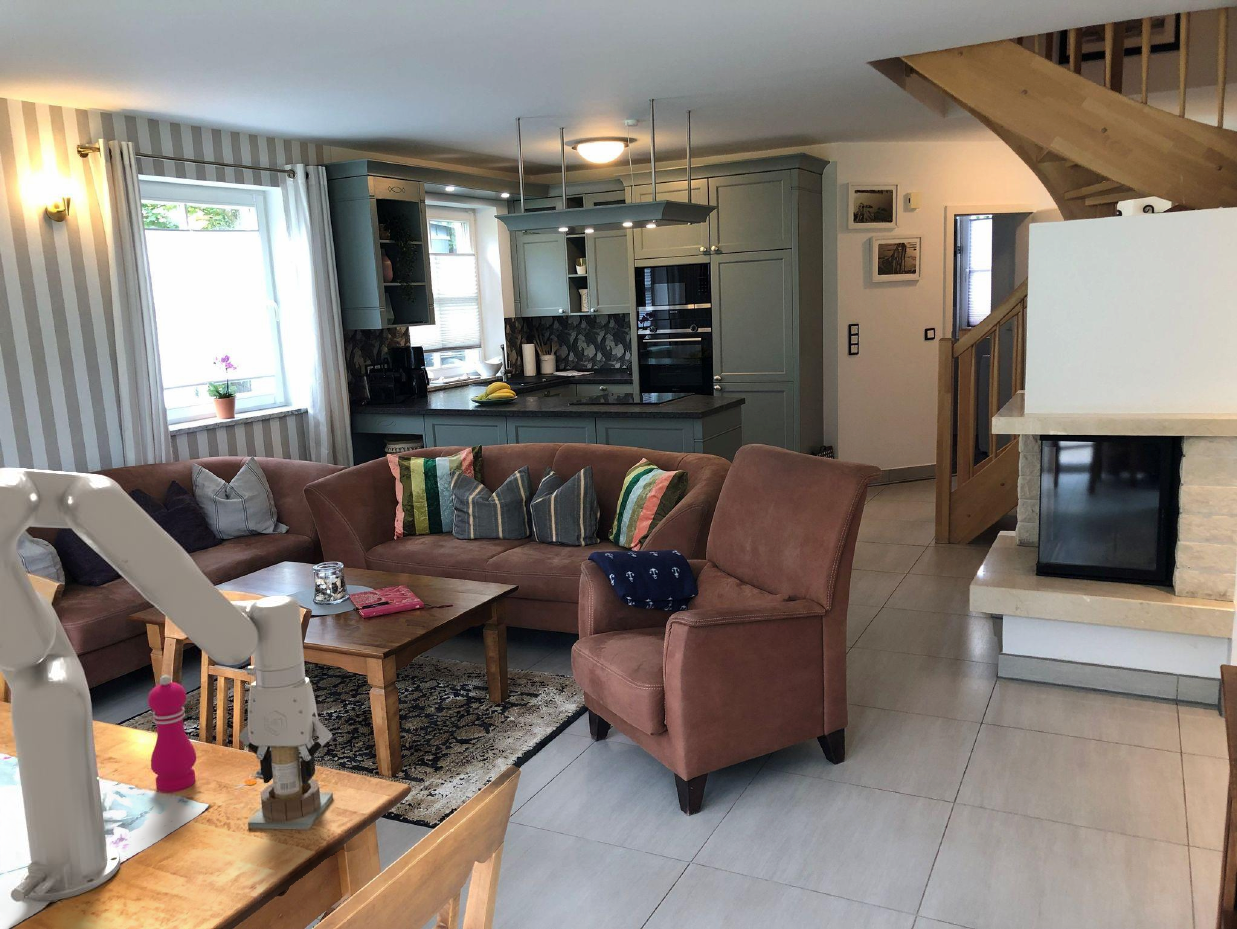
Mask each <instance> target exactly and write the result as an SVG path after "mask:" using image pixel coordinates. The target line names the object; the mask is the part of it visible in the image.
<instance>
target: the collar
mask: <svg viewBox="0 0 1237 929" xmlns="http://www.w3.org/2000/svg"><path fill="white" fill-rule="evenodd" d="M333 799H334V793H333V792H327V791H326V792H323V791H321V792H320V785H319V782H318V781H317V779H314V778H313V777H312V778H311V779H310V780H309V781H308V783H307V784H303V783H302V796H300V797H298V798H293V799H289V800H276V799H275V792H274V785H273V782H272V783H270V784H268V785H267V786H266V787H264V789H263V790H262V791H261V792H260V801H261V802H260V803H261V804H260V805H261V807H260V808H259V809H258V811H257V812H256V813H255V814H254V815H253V816H252V817H251V819H249V821H248V822H247V827H248V829H256V830H257V829H260V830H261V829H262V830H264V829H266V830H269V829H270V830H311V828H312V826H313V825H314V823H315V822H316V821H317V820H318V819H319V817H320V816H321V815H322V814H323V812H324V811H325V810H326V808H327V807H328V805H329V804H330V803H331V802H330V801H332V800H333ZM310 827H311V828H310Z"/></svg>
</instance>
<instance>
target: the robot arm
mask: <svg viewBox="0 0 1237 929" xmlns="http://www.w3.org/2000/svg"><path fill="white" fill-rule="evenodd" d="M30 527H32V528H33V527H35V528H53V529H54V528H57V529H58V528H59V529H71V530H72V531H73V532H74V533H75V534H76V535H77V536H78V537H79V538H80V539H81V540H82V541H83V542H84V543H86V544H87V546H88V547H90V548H91V549H92V550H93V551H94V552H96V553H97V554H98V555H99V556H100V557H101V558H102V559H103V560H105V561H106V562H107V563H108V564H109V565H110V566H111V567H112V568H113V569H114V570H115V571H116V572H118V574H119V575H120V576H122V578H124V580H126V581H127V582H128V583H129V584H130V585H131V586H132V587H133V588H134V589H135V590H136V591H138V593H140V594H141V596H142V597H143V598H144V599H145V600H147V602H148V603H150V604H151V605H153V607H155V608H156V609H158V610H159V611H160V612H161V613H162V614H163V615H164V616H165V617H166V618H167V619H168V620H169V621H170V622H171V623H172V624H173V625H175V626H176V628H178V629H179V631H181V632H182V633H183V634H184V635H185V636H186V637H187V638H188V639H189V640H190V641H191V642H192V643H193V644H195V645H196V646H197V647H198V648H199V649H200V650H201V651H202V652H204V653H205V654H206V655H207V656H208V657H209V658H210V659H211V660H213V661H214V662H215V663H218V664H220V665H225V666H232V665H233V666H235V665H239V664H242V663H243V662H246V661H248V659H249V658H251V656H253V665H252V666H248V667H247V669H246V674H247V675H248V676H252V677H253V679H254V680H253V681H254V682H252V683H251V684H250V688H249V695H248V706H247V707H248V708H247V724H246V726H245V728H244V729H242V731H241V732H240V734H239V735H238V739H239V740H240V741H241V742H242V743H243V744H244V745H246V746H247V747H248V749H249V750H250V751H251V752H252V753H253V754H254V755H255V758H256V759H257V760H259V765H260V769H261V775H262V776H263V778H262V779H263V783H264V784H269V783H270V782H271V781H272V780H273V772H272V756H271V747H270V746H273V747H298V748H299V753H300V754H301V756H302V759H300V768H301V780H302V783H303V784H307V783H308V781H309V780H310V779H311V778H312V779H313V777H314V775H315V774H316V764H315V754H316V753H317V752H319V750H321V749H322V747H323V746H324V745H326V744H327V742H329V741H330V739H331V738H332V736H333V734H332V732H331V731H330V730H329V729H328V728H327V727H326V726H325V725H324V724H323V723H322V722H321V721H320V720H319V716H318V708H317V704H316V698H315V695H314V690H313V686H312V684H311V681H310V678H309V677H307V676H306V670H305V669H306V668H305V657H304V655H305V654H304V646H303V635H302V634H303V633H302V619H301V608H300V603H299V602H298V600H297V599H296V598H294V597H293V596H288V595H272V596H267V597H262V598H260V599H257V600H238V601H236V600H234V601H231V600H230V599H228V598H227V597H226V596H225V595H224V594H223V593H222V592H221V591H220V590H219V589H218V588H217V586H215V585H214V584H213V583H212V581H210V580H209V578H208V577H207V576H206V575H205V574H204V573H203V572H202V571H201V569H200V568H199V566H198V565H197V563H196V562H195V561H194V560H193V558H192V557H191V556H190V555H189V553H188V552H187V551H186V550H185V548H183V546H181V545H180V544H179V542H177V541H176V540H175V539H174V538H173V536H171V535H170V534H169V533H168V532H167V531H166V530H164V529H163V528H162V527H161V525H159V523H157V522H156V521H155V520H154V518H152V517H151V515H149V513H148V512H146V511H145V510H144V509H143V508H142V507H141V506H140V505H139V504H138V503H137V502H136V500H133V498H132V497H131V496H130V495H128V493H127V492H126V490H125V491H124V490H123V488H122V487H121V485H120V484H119V482H117V481H115V480H114V479H112V478H111V477H109V476H105V475H103V474H95V473H93V474H92V473H81V472H67V471H53V470H43V469H42V470H41V469H30V468H29V469H28V468H17V467H0V672H1V674H2V676H3V678H4V680H5V681H6V683H7V685H8V687H9V690H10V717H11V718H10V719H11V725H12V726H11V727H12V733H13V739H14V743H15V744H14V745H15V749H16V756H17V758H16V759H17V764H18V772H19V773H18V774H19V779H20V786H21V792H22V800H23V808H24V817H25V825H26V830H27V842H28V849H29V855H30V861H31V862H30V863H29V864H28V865H27V872H26V873H25V874H24V875H23V877H22V878H21V882H20V884H19V885H17V886H16V887H15V888H14V889H13V890H11V892H10V897H11V899H12V901H15V902H16V903H18V902H22V901H24V900H25V899H26V898H29V899H31V900H35V901H55V900H56V901H59V900H63V899H67V898H72V897H74V896H78V895H81V894H83V893H86V892H89V891H91V890H93V889H95V888H97V887H99V886H100V885H103V884H104V883H105V882H106V881H108V880H110V879H111V878H112V877H113V876H114V875H115V874H116V873H117V871H118V870H119V868H120V866H121V856H120V853H119V852H118V850H116V849H115V848H113V847H109V846H107V837H106V830H105V829H106V828H105V821H104V812H103V811H104V810H103V805H102V804H103V803H102V796H101V795H102V794H101V786H100V779H99V778H100V776H99V769H98V768H99V767H98V763H97V754H96V746H95V745H96V744H95V734H94V723H93V721H94V719H93V708H92V701H91V699H92V698H91V694H90V690H89V685H88V682H87V678H86V675H85V674H86V673H85V670H84V668H83V666H82V663H81V662H80V659H79V658H78V655H77V653H76V651H75V649H74V648H73V645H72V643H71V641H70V639H69V637H68V634H67V633H66V631H65V629H64V627H63V625H62V623H61V621H60V619H59V617H58V614H57V613H56V610H55V609H54V607H53V605H52V603H51V602H50V600H48V599H47V598H46V597H45V596H44V595H43V594H41V593H39V591H38V592H37V591H36V590H35V588H34V586H33V584H32V582H31V580H30V578H29V575H28V573H27V570H26V568H25V566H24V564H23V562H22V561H21V559H20V556H19V554H18V548H17V545H18V542H19V538H20V537H21V535H22V534H24V532H25V531H26V530H28V528H30ZM315 735H317V736H318V739H317V740H316V741H315V742H314V740H313V738H312V737H313V736H315Z"/></svg>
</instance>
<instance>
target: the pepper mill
mask: <svg viewBox="0 0 1237 929" xmlns="http://www.w3.org/2000/svg"><path fill="white" fill-rule="evenodd" d="M147 697H148V698H147V703H148V707H149V708H150V710H152V711H153V713H152V717H153V720H152V721H153V723H155V724H156V729H157V732H156V733H157V737H156V743H155V745H154V748H153V750H152V754H151V757H150V758H151V759H150V768H151V770H152V773H154V774H156V775H157V776H156V777H155V788H156V790H157V791H159V792H162V793H176V792H180V791H182V790H185V789H188V788H190V787H191V786H192V785H194V783H195V781H196V771H195V769H194V768H193V767H194V766H195V764H196V762H197V753H196V750H195V747H194V745H193V743H192V742H191V740H190V739H189V737H188V735H187V734H186V731H185V728H184V727H185V726H184V718H185V717H186V713H185V710H186V709H185V707H184V705H185V703H186V702H187V692H186V690H185V688H184V686H182V685H181V684H179V683H178V682H173V681H172V677H171V676H170V675H168V674H164V675H162V676H161V677H160V678H159V684H158V685H156V686H154V688H152V689H151V690H150V692H149V694H148V696H147Z"/></svg>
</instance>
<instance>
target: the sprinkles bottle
mask: <svg viewBox="0 0 1237 929" xmlns="http://www.w3.org/2000/svg"><path fill="white" fill-rule="evenodd" d="M270 747H271V756H272V772H273V778H272V783H273V785H274V792H275V799H276V800H289V799H293V798H298V797H300V796H302V780H301V768H300V761H301V759H300V750H299V748H298V747H273V746H270Z"/></svg>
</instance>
